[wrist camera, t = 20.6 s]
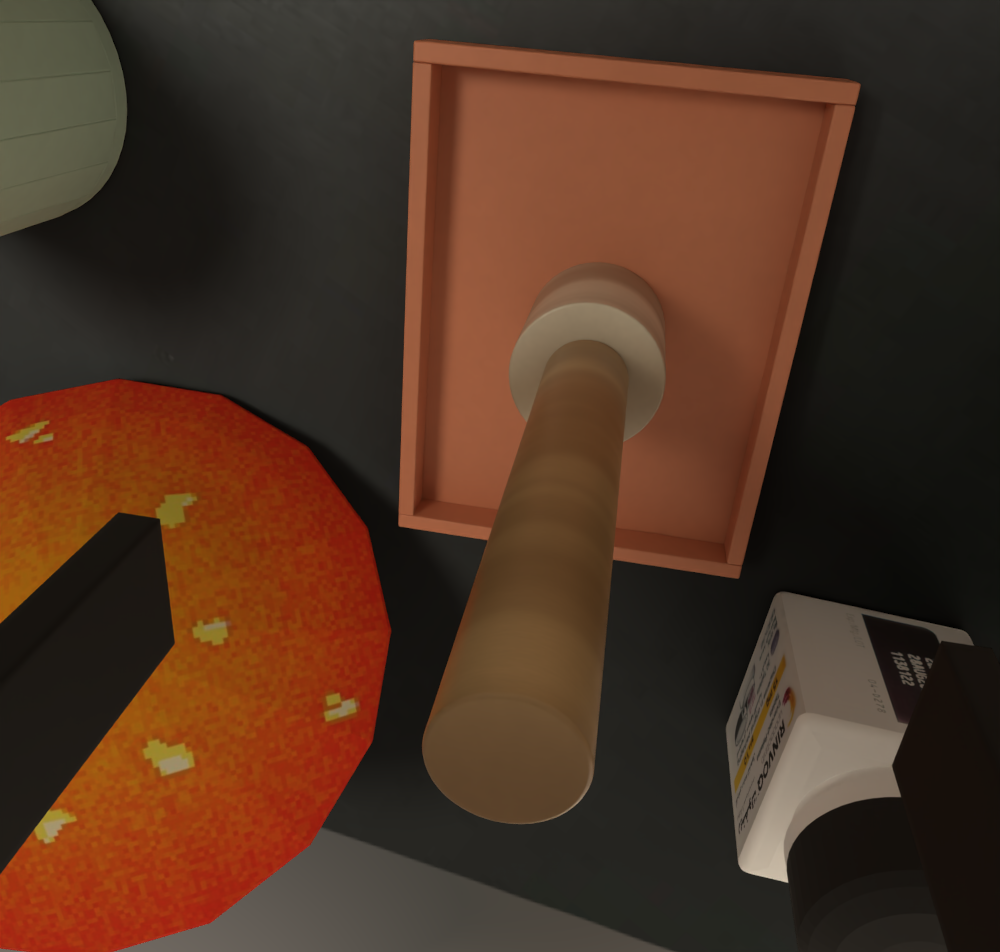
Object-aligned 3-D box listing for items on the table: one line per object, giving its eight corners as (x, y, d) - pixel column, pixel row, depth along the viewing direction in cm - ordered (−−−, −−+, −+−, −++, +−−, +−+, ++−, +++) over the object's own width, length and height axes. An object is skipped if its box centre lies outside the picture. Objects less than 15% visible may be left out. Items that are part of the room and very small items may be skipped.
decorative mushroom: (381, 734, 43) (257, 1052, 30) (-27, 587, 43) (-332, 840, 30) (469, 479, 36) (356, 748, 23) (-20, 303, 36) (-418, 470, 23)
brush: (535, 253, 31) (350, 606, 12) (676, 270, 30) (698, 663, 12) (523, 383, 33) (349, 844, 15) (653, 400, 33) (642, 901, 14)
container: (775, 585, 36) (828, 851, 24) (970, 627, 35) (1118, 920, 24) (722, 727, 40) (748, 1016, 28) (899, 767, 39) (998, 1079, 28)
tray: (428, 38, 29) (413, 40, 27) (849, 79, 27) (862, 83, 26) (410, 502, 37) (397, 527, 35) (735, 551, 35) (739, 579, 34)
